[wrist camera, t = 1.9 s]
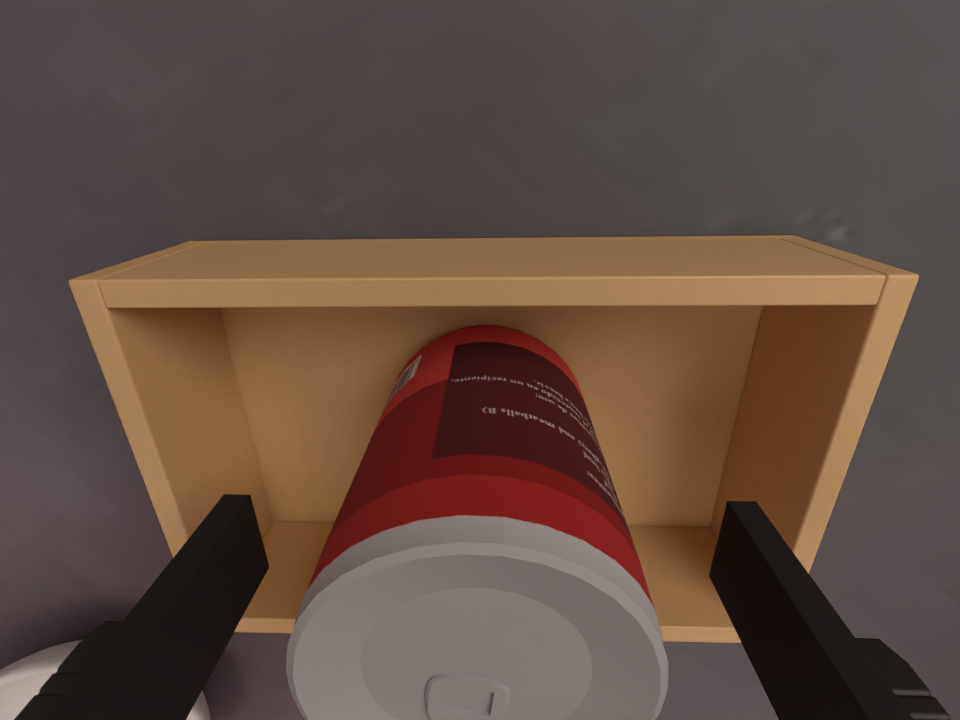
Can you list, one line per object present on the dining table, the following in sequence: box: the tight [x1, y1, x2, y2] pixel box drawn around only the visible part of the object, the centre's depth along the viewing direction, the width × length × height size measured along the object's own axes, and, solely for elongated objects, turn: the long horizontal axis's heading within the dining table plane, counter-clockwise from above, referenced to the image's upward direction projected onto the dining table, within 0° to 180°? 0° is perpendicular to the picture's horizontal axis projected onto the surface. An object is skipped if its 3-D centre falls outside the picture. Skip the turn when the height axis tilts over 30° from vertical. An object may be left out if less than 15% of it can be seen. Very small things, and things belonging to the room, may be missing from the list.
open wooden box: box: [69, 235, 919, 643], centre depth 17 cm, size 22×14×6 cm, turn 91°
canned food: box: [286, 325, 668, 720], centre depth 14 cm, size 8×8×11 cm
